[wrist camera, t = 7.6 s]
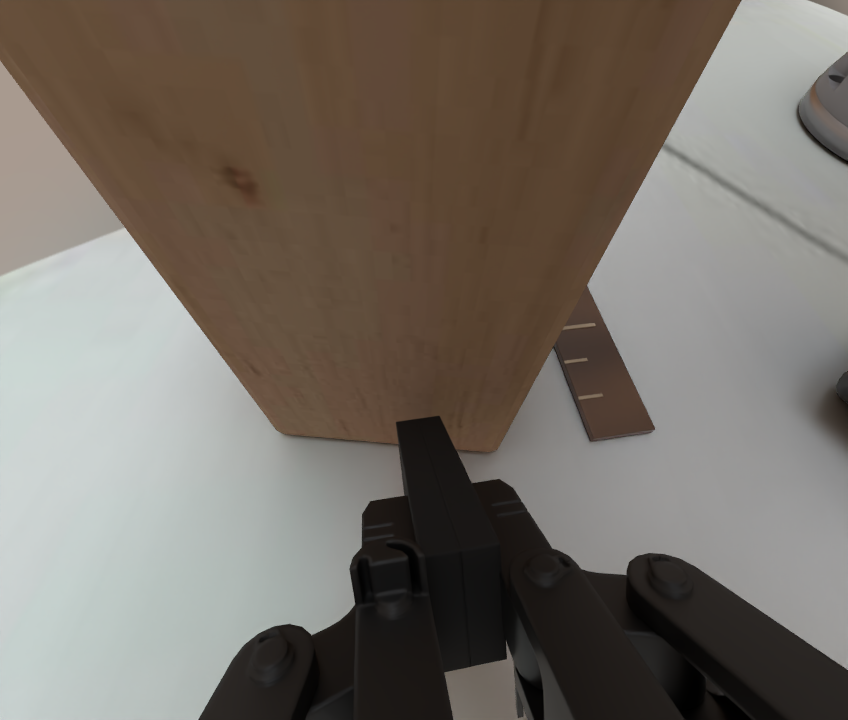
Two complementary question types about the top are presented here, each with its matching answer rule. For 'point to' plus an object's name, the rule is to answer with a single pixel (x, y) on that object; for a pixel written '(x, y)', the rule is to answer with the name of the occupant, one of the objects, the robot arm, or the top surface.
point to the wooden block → (368, 178)
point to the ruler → (599, 376)
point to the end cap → (843, 387)
